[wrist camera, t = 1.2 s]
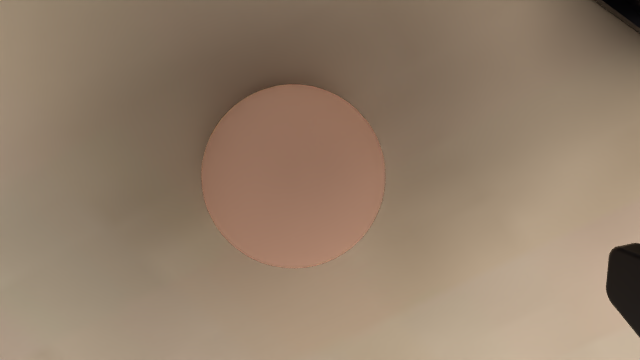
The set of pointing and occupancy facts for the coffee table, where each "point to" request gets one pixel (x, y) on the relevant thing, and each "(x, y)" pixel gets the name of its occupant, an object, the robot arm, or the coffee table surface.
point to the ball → (293, 176)
